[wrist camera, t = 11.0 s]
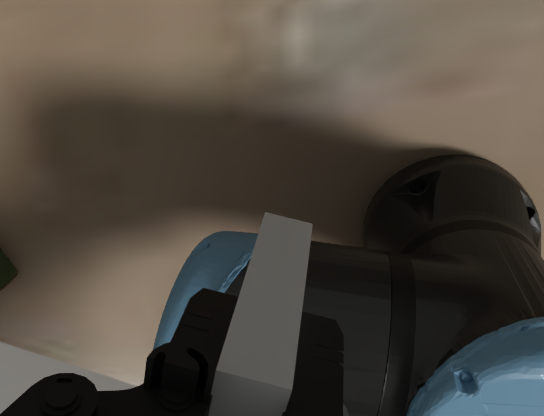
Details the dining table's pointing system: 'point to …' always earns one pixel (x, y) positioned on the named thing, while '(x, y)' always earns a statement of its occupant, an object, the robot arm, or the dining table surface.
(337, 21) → the dining table surface
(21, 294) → the dining table surface
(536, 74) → the dining table surface
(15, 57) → the dining table surface
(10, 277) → the carton
